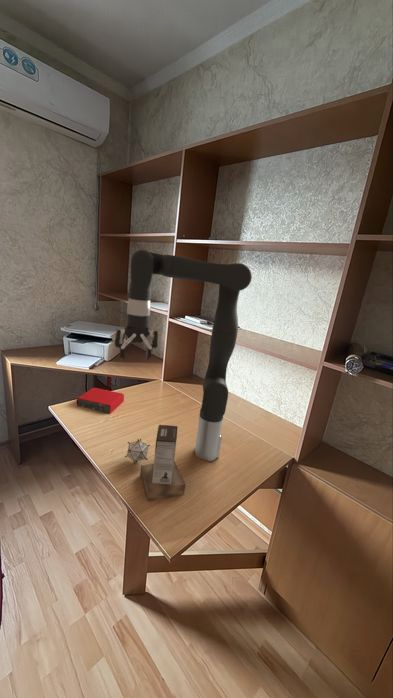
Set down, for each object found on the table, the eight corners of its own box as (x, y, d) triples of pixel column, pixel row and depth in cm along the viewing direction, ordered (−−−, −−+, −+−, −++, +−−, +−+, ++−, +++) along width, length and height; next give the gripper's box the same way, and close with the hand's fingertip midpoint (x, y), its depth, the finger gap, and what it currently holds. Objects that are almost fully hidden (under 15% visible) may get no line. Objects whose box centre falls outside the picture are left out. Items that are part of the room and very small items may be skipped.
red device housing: (76, 407, 141) (76, 397, 140) (92, 395, 154) (92, 387, 153) (110, 414, 138) (110, 405, 137) (123, 402, 151) (124, 393, 150)
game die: (138, 452, 113) (140, 429, 110) (153, 463, 108) (155, 439, 105) (119, 462, 106) (120, 438, 103) (134, 474, 101) (136, 449, 98)
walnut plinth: (173, 470, 105) (174, 460, 104) (184, 494, 95) (185, 483, 94) (140, 475, 101) (141, 465, 100) (147, 501, 90) (148, 490, 89)
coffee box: (154, 464, 101) (158, 423, 97) (173, 466, 101) (177, 425, 97) (151, 483, 92) (155, 439, 88) (171, 485, 92) (177, 441, 88)
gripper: (156, 312, 103) (152, 355, 107) (115, 309, 97) (112, 355, 102) (162, 316, 96) (157, 362, 101) (118, 313, 91) (115, 362, 95)
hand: (135, 358), depth 101 cm, fingers open, 8 cm apart
